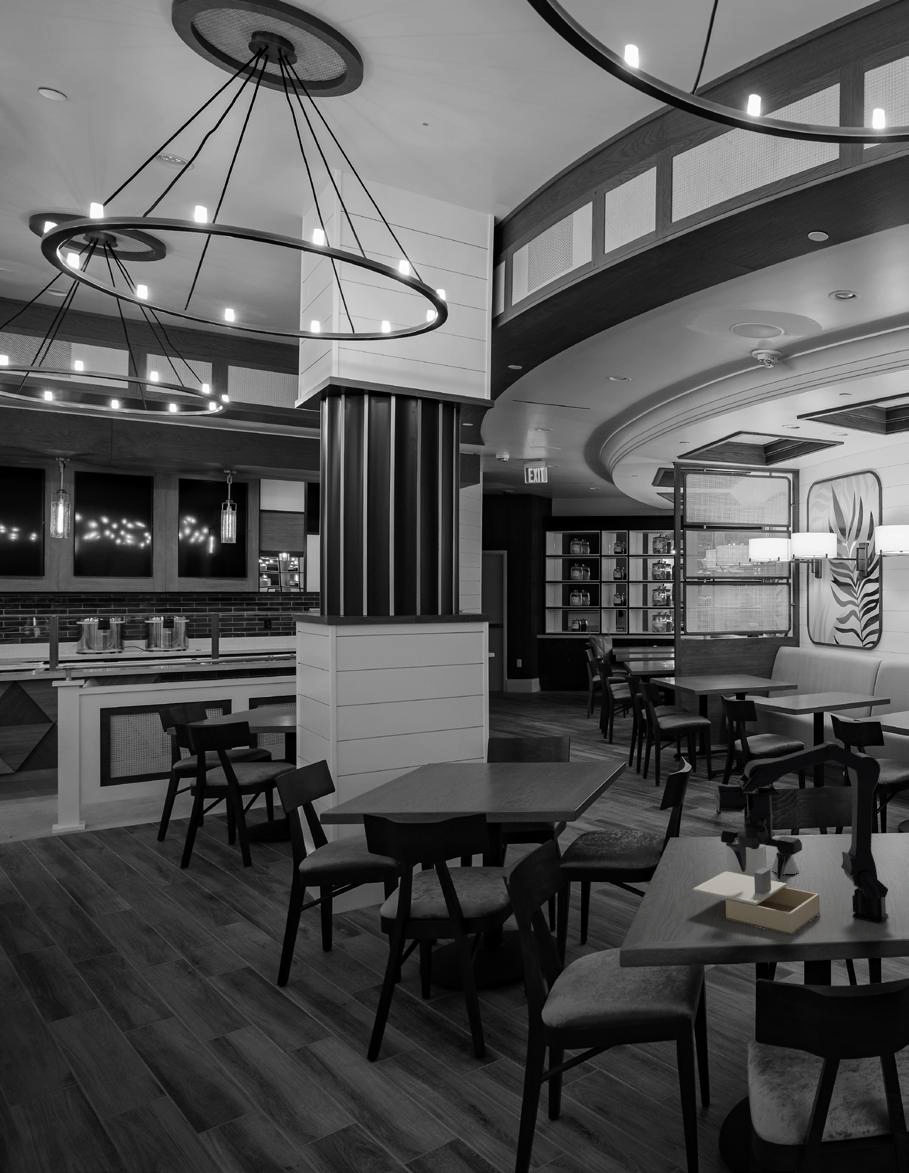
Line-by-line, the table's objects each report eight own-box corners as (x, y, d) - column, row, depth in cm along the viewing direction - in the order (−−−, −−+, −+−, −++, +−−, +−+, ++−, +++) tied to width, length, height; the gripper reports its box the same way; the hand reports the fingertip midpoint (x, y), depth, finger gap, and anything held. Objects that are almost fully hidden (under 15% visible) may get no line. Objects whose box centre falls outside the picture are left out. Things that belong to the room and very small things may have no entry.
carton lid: (786, 885, 216) (785, 863, 216) (755, 905, 202) (755, 881, 202) (725, 873, 227) (725, 852, 227) (693, 890, 214) (692, 868, 214)
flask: (785, 877, 239) (783, 841, 239) (766, 870, 246) (765, 835, 246) (804, 873, 242) (803, 838, 242) (785, 867, 249) (784, 832, 249)
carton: (819, 914, 210) (819, 894, 210) (791, 935, 197) (790, 914, 197) (757, 900, 221) (756, 881, 221) (726, 919, 208) (725, 899, 208)
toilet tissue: (726, 883, 235) (725, 846, 236) (728, 870, 247) (727, 835, 247) (767, 886, 232) (765, 849, 232) (767, 873, 243) (765, 838, 243)
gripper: (709, 812, 212) (711, 875, 211) (783, 824, 199) (785, 891, 198) (729, 804, 220) (731, 865, 219) (801, 815, 207) (803, 879, 207)
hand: (761, 875), depth 211 cm, fingers open, 9 cm apart
